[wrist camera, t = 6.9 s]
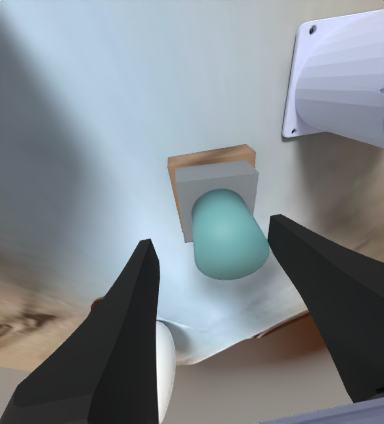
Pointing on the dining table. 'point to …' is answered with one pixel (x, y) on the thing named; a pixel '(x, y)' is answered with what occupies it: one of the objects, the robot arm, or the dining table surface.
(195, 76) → the dining table surface
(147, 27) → the dining table surface
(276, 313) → the dining table surface
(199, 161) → the walnut slab
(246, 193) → the gray block
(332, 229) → the dining table surface
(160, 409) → the sauce bottle
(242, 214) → the teal cylinder
